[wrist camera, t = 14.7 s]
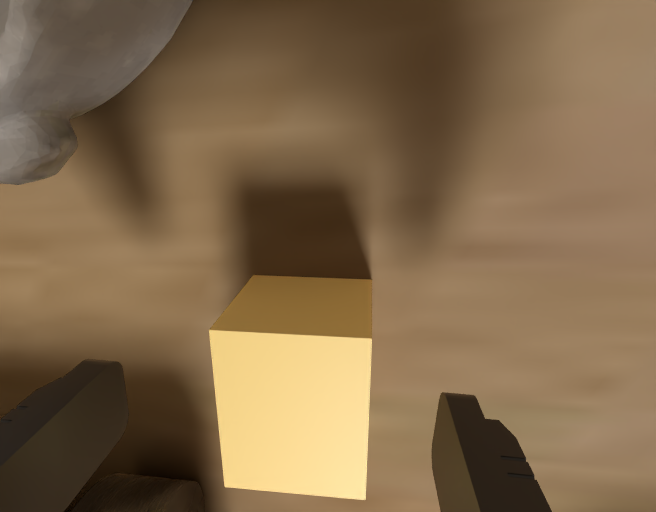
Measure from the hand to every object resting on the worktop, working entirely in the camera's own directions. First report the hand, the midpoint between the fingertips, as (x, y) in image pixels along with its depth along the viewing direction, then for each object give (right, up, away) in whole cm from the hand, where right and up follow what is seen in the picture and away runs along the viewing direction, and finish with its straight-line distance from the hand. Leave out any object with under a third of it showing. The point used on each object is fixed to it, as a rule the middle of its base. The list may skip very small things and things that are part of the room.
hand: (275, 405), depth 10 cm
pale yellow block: (+1, +1, +4) cm, 4 cm away
